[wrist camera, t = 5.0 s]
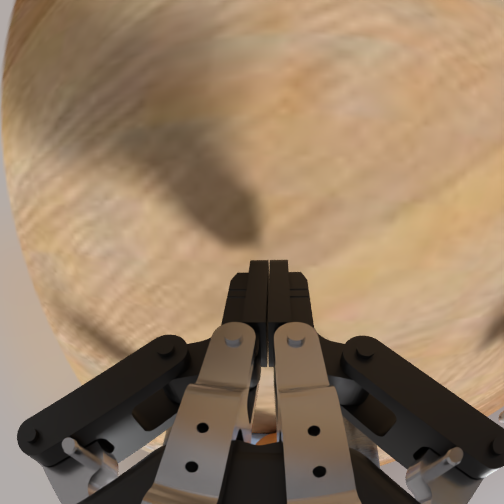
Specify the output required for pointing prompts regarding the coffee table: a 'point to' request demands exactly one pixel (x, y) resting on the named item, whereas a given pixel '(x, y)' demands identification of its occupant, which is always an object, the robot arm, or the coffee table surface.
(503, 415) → the bull figurine
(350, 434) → the post
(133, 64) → the coffee table surface
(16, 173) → the coffee table surface
